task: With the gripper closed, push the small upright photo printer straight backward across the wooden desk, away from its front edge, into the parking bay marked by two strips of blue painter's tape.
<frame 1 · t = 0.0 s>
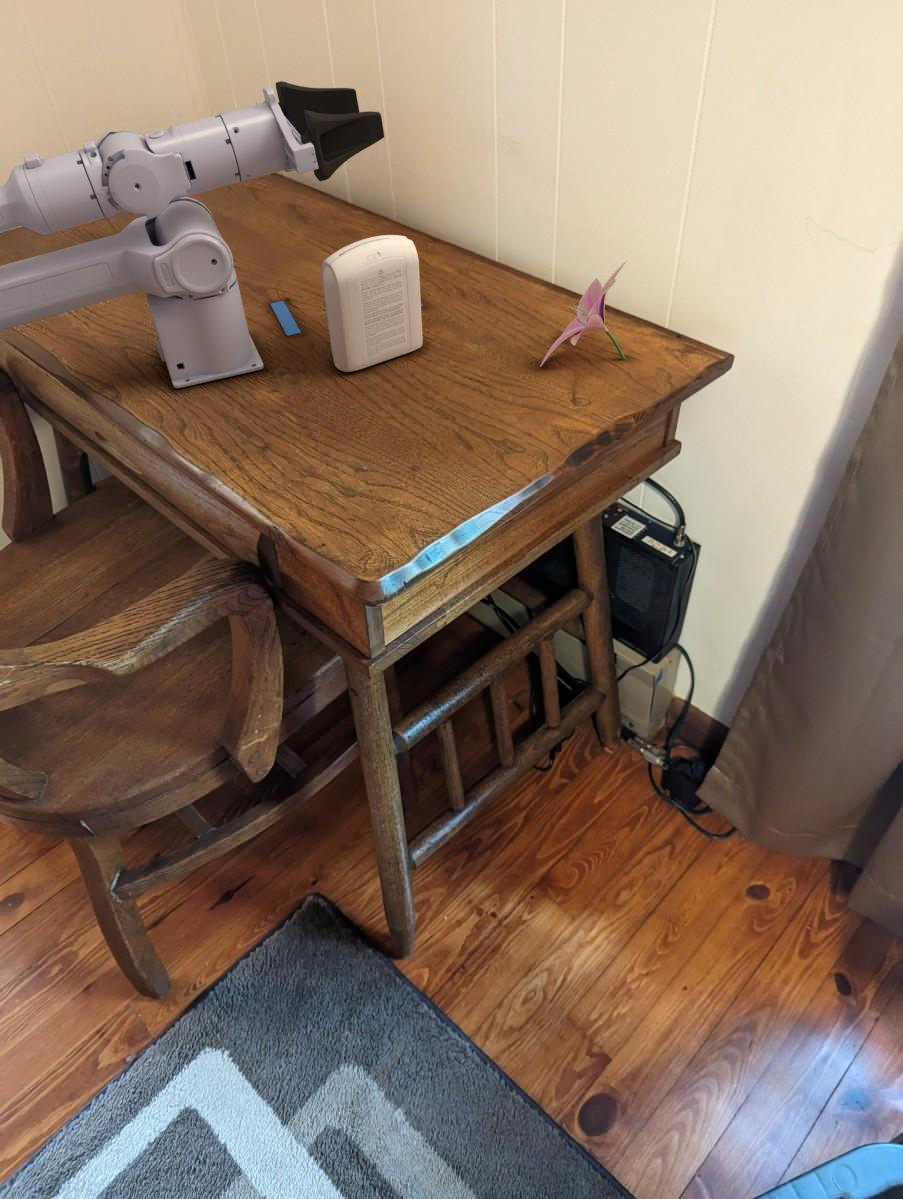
hand: (368, 112, 82), 22 cm above the table, tool horizontal, fingers open, 7 cm apart
tape marks: (346, 305, 101), on the table
lily: (584, 355, 92), on the table
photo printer: (379, 356, 93), on the table
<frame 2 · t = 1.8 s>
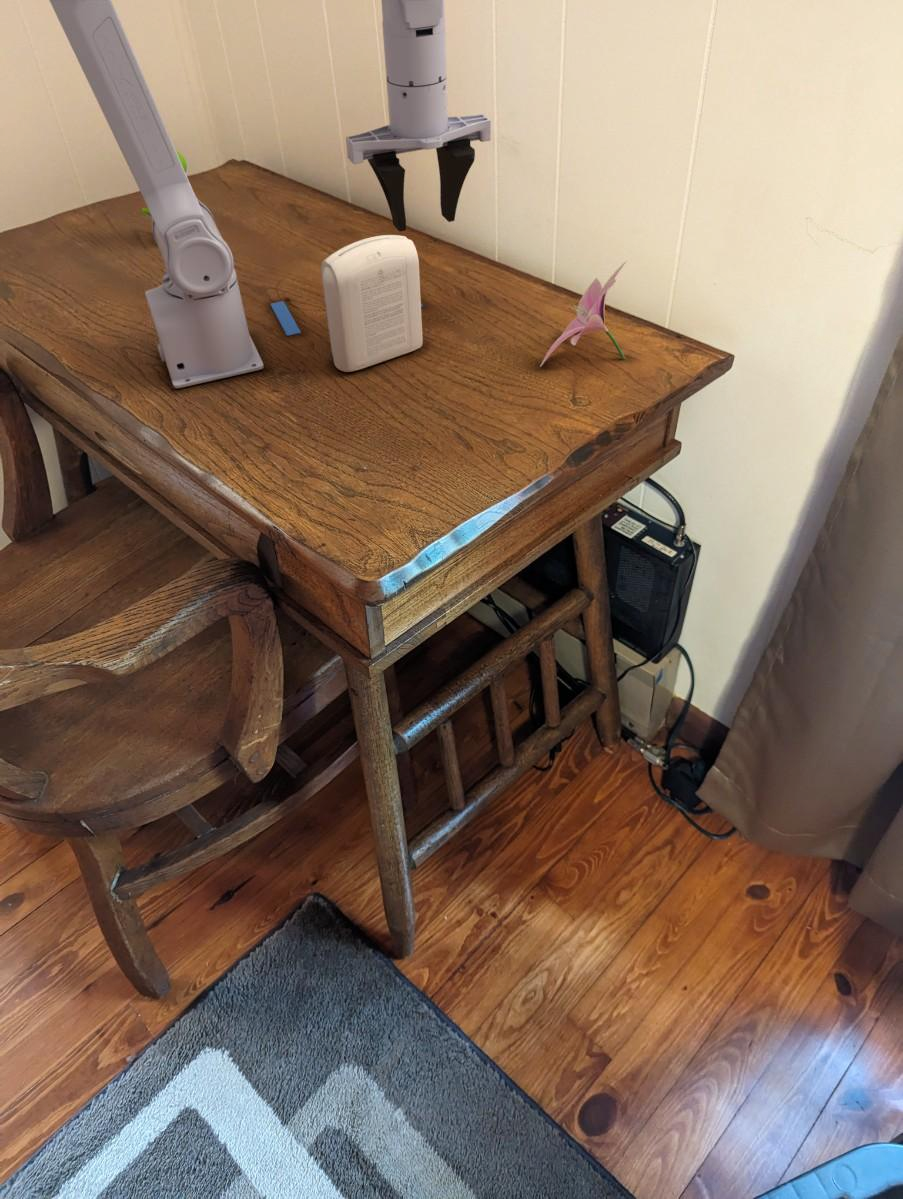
hand: (424, 222, 92), 10 cm above the table, tool pointing down, fingers open, 5 cm apart
nothing on the table moved.
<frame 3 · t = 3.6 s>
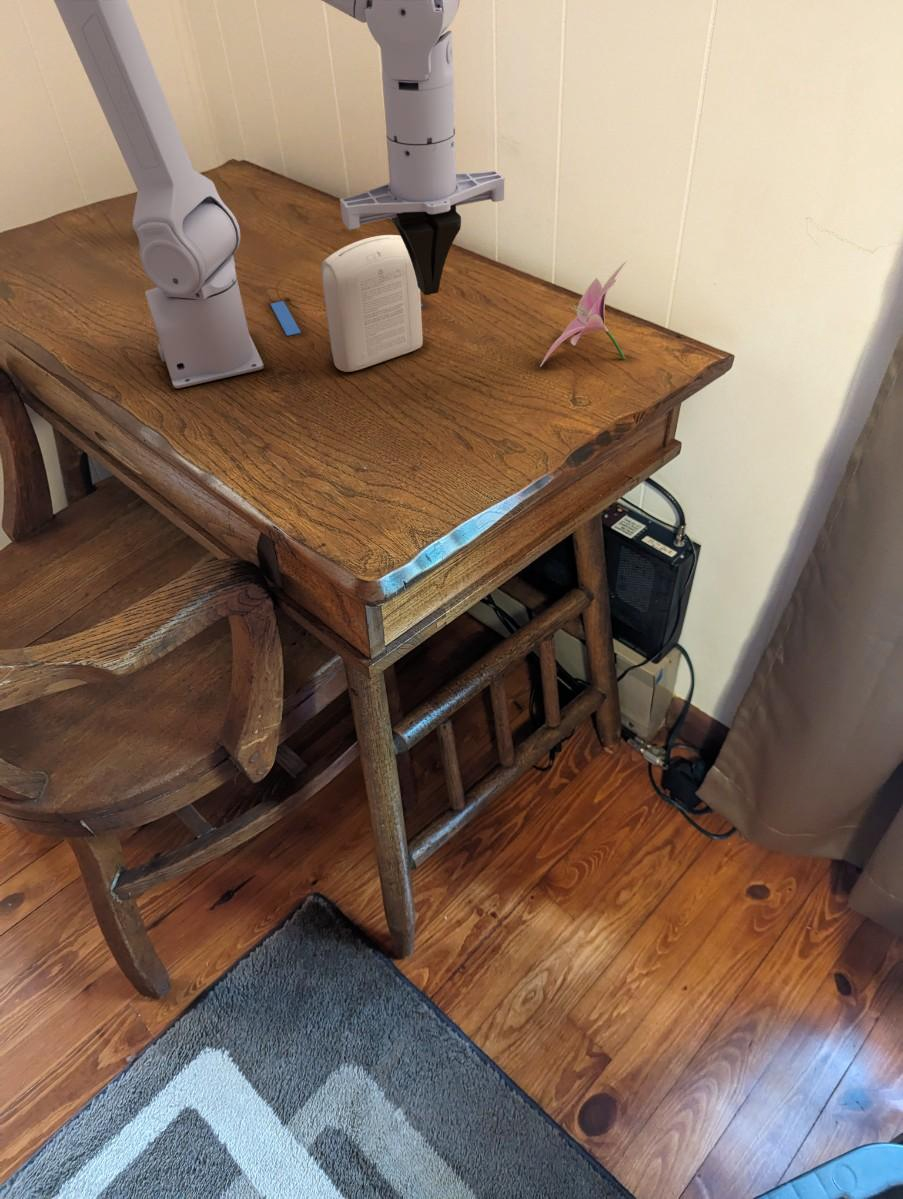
hand: (428, 289, 81), 10 cm above the table, tool pointing down, fingers closed
nothing on the table moved.
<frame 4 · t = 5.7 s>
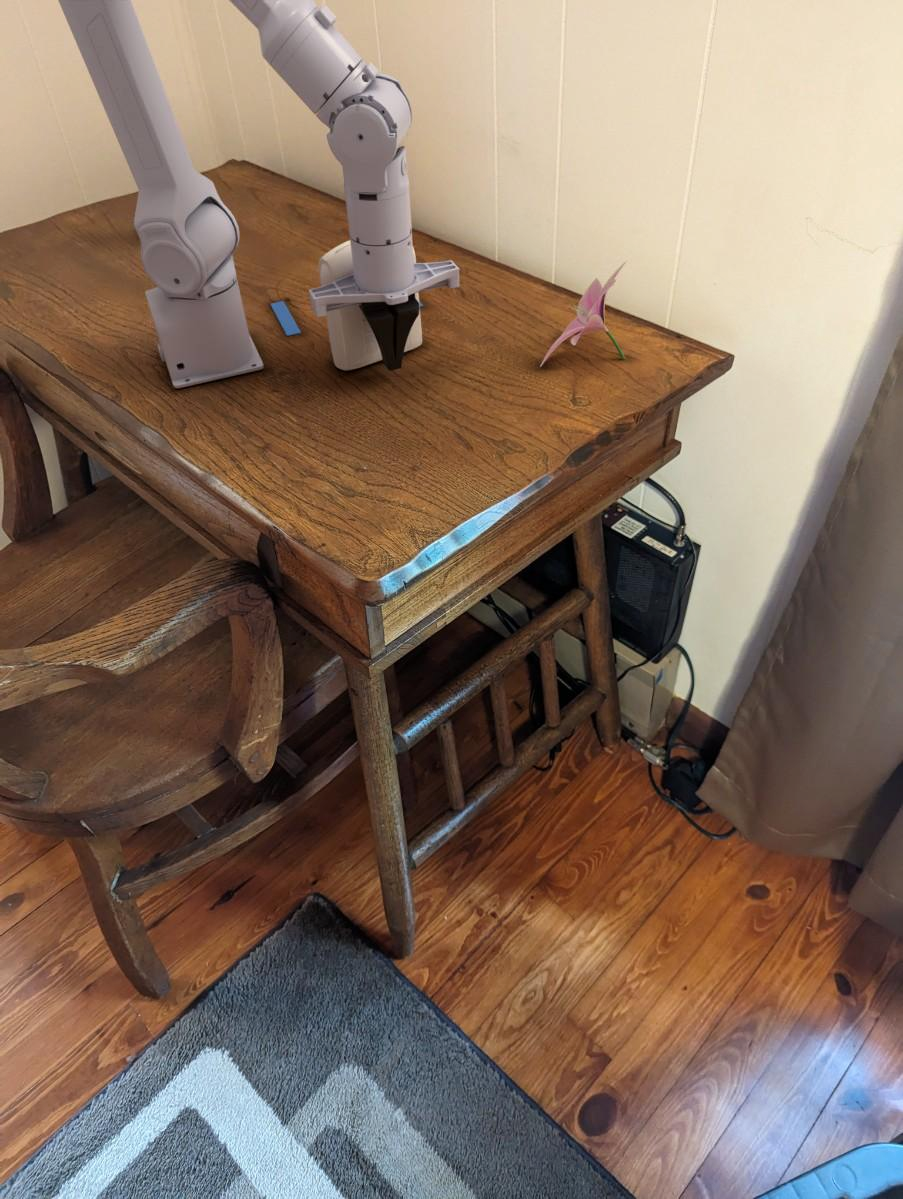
hand: (392, 364, 89), 1 cm above the table, tool pointing down, fingers closed
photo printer: (378, 355, 93), on the table, touching gripper
everything else where it was.
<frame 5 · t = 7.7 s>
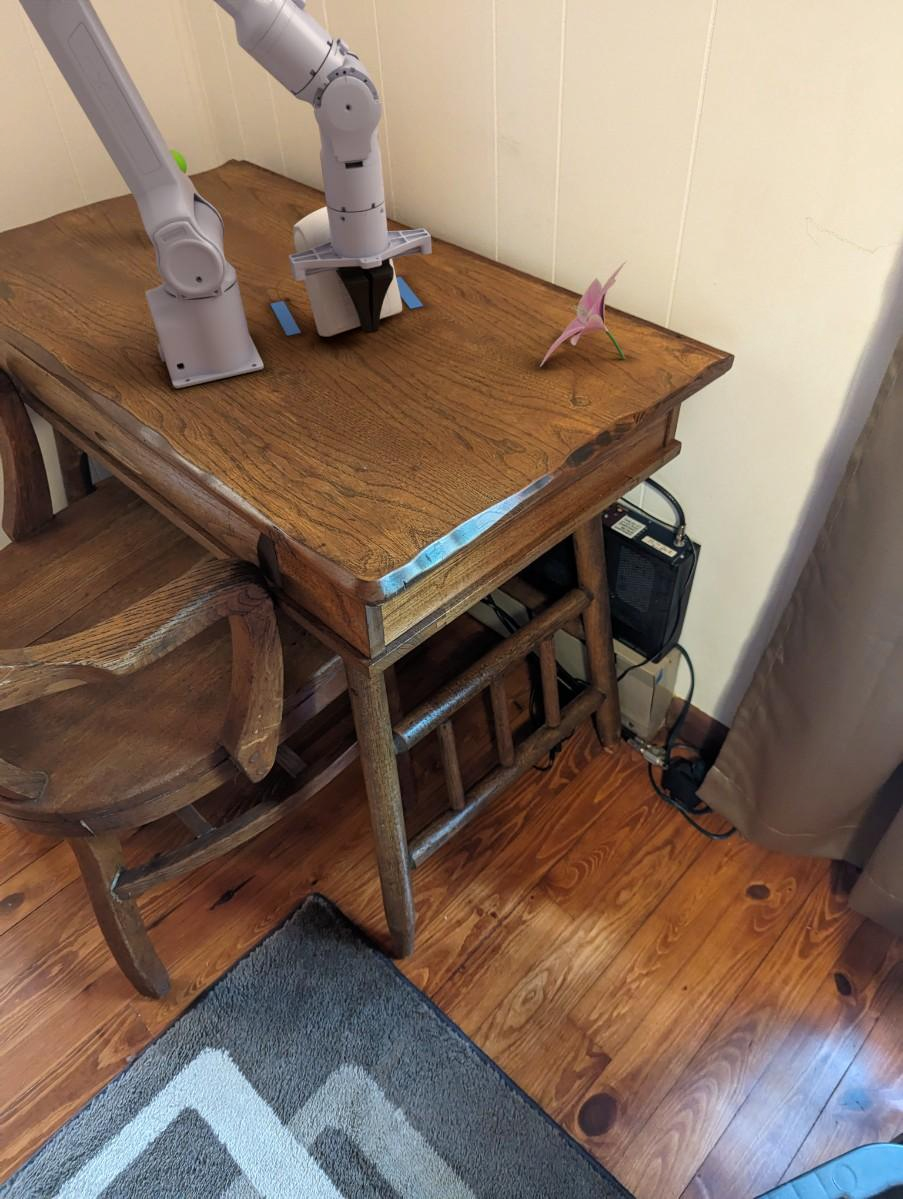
hand: (369, 328, 94), 1 cm above the table, tool pointing down, fingers closed
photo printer: (362, 325, 97), on the table, touching gripper
everything else where it was.
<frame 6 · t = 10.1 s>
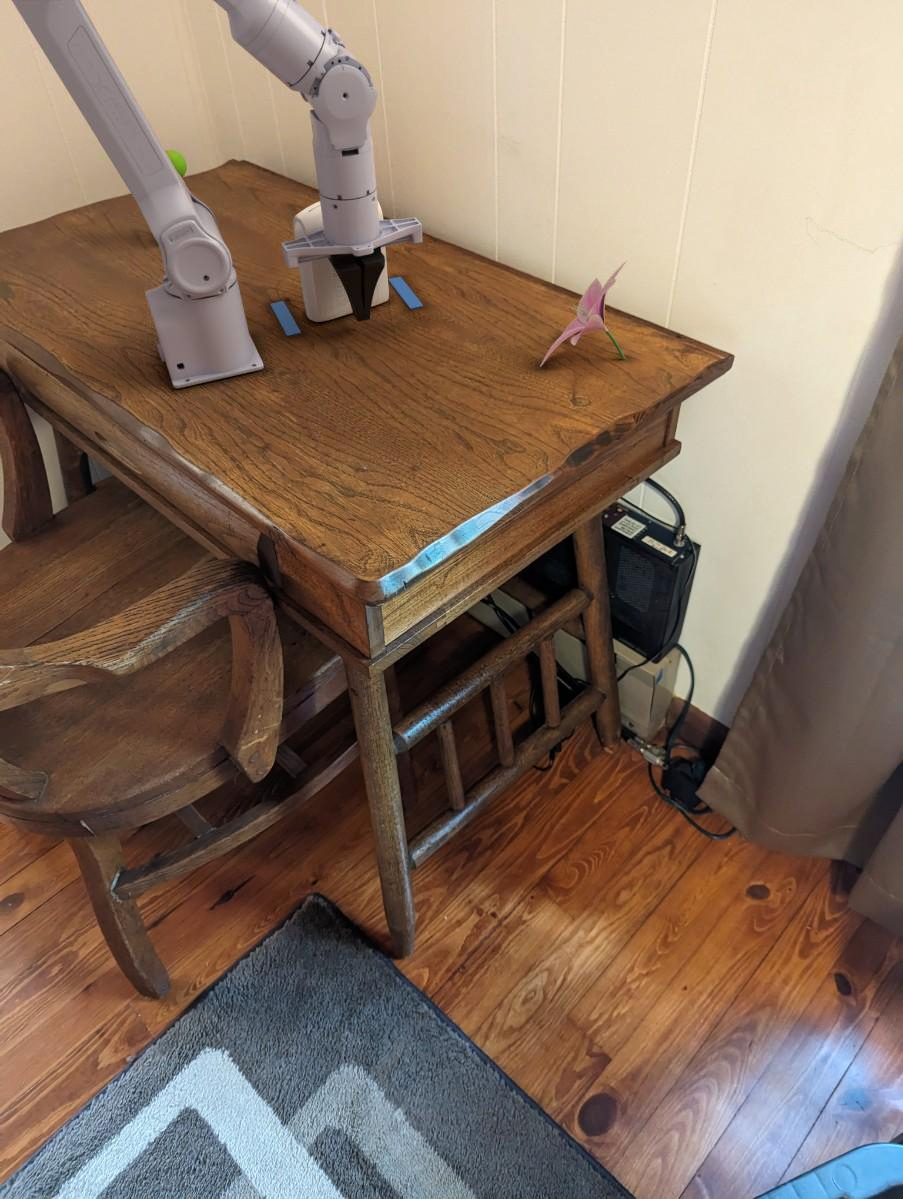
hand: (361, 316, 96), 2 cm above the table, tool pointing down, fingers closed
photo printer: (348, 309, 101), on the table
everything else where it was.
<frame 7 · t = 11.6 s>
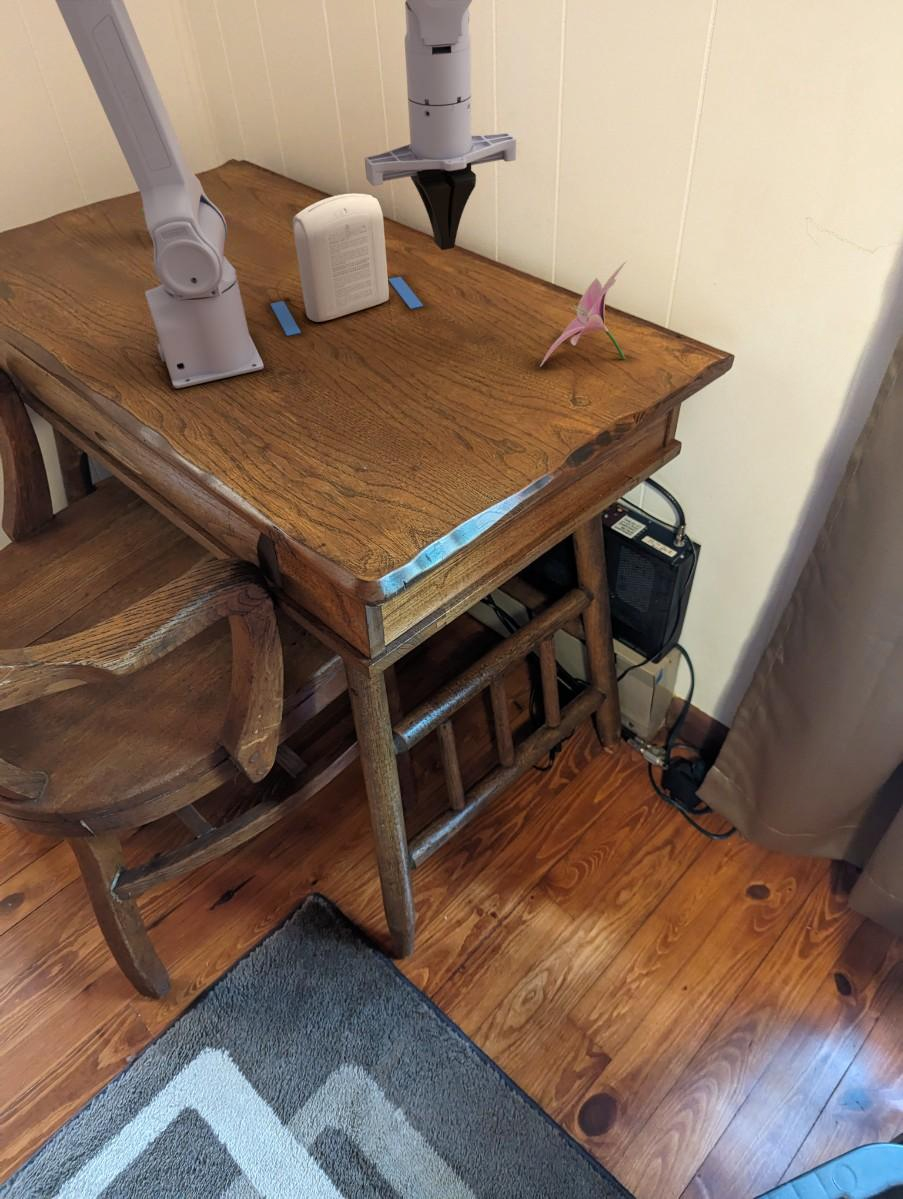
hand: (444, 245, 88), 10 cm above the table, tool pointing down, fingers closed
nothing on the table moved.
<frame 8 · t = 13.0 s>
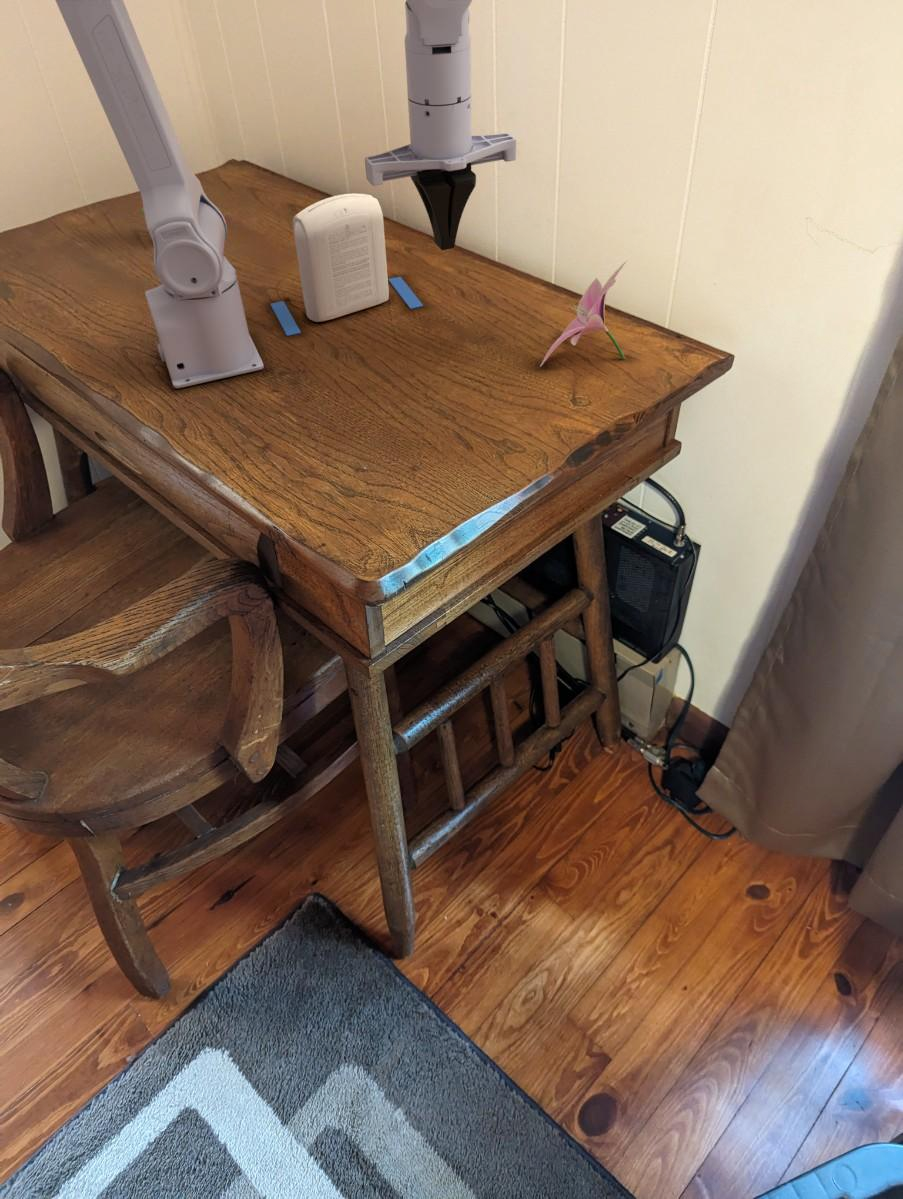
hand: (444, 245, 88), 10 cm above the table, tool pointing down, fingers closed
nothing on the table moved.
at the end: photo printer inside the target area (0.1 cm from its centre), on the table; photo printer tilted 0°; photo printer moved 11.5 cm from its start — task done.
